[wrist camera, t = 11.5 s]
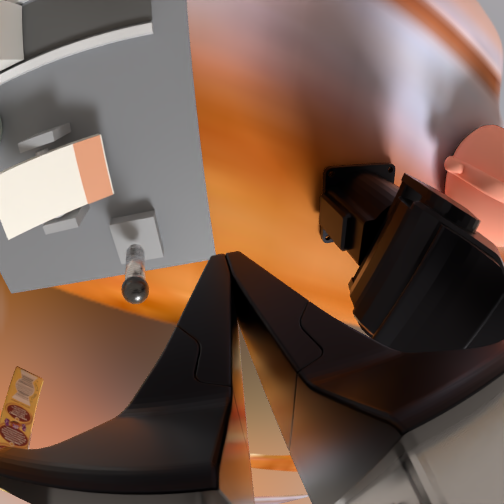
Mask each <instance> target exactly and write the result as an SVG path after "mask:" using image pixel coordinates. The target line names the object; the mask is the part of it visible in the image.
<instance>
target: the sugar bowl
mask: <svg viewBox="0 0 504 504" xmlns="http://www.w3.org/2000/svg"><path fill="white" fill-rule="evenodd" d="M444 166H445V170H447V171H448V172H447V176H446V182H445V195H447V196H448V197H450V198H451V199H453V200H454V201H456V202H458V203H459V204H461V205H462V206H464V207H465V208H467V209H468V210H469V211H470V212H471V213H472V214H473V215H475V216H476V217H477V218H478V219H479V220H480V221H481V222H480V224H479V226H478V228H477V230H476V231H477V232H479V233H480V234H482V235H483V236H484V237H486V238H487V239H488V240H490V241H491V242H492V243H494V244H495V245H496V246H504V128H502V127H499V126H497V125H485V126H482V127H480V128H478V129H476V130H475V131H473V132H472V133H471V134H469V135H468V136H467V137H466V138H465V139H464V140H463V141H462V142H461V143H460V145H459V146H458V148H457V149H456V151H455V153H454V155H453V156H449V157H447V159H446V160H445V162H444Z"/></svg>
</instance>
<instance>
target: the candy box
mask: <svg viewBox="0 0 504 504" xmlns="http://www.w3.org/2000/svg"><path fill="white" fill-rule="evenodd" d="M42 384H43V379H42V378H40V377H38V376H36V375H34V374H32V373H30V372H28V371H26V370H24V369H22V368H20V367H18V366H17V367H16V369H15V371H14V374H13V377H12V380H11V383H10V386H9V390H8V393H7V396H6V400H5V403H4V406H3V410H2V414H1V417H0V449H1V448H4V447H16V448H22V449H29V445H30V439H31V433H32V429H33V424H34V419H35V414H36V409H37V404H38V400H39V395H40V391H41V387H42ZM0 489H1V488H0ZM1 490H3V489H1ZM3 491H5V490H3ZM5 492H7V491H5ZM8 493H9V492H8Z"/></svg>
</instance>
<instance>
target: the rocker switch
mask: <svg viewBox="0 0 504 504" xmlns="http://www.w3.org/2000/svg"><path fill="white" fill-rule="evenodd" d="M35 155H36V156H35V157H32V158H30V159H28V160H25V161H23V162H21V163H19V164H16V165H14V166H12V167H10V168H8V169H6V170H3V171H1V172H0V220H1V223H2V226H3V228H4V231H5V233H6V236H7V238H8V240H10V239H11V238H13V237H15V236H18V235H20V234H22V233H24V232H26V231H28V230H30V229H32V228H34V227H36V226H38V225H40V224H43V223H45V222H47V221H49V220H51V219H54V218H58V217H61V216H63V215H64V214H65V213H67V212H70V211H72V210H74V209H77V208H79V207H81V206H84V205H86V204H90V203H93V202H95V201H98V200H100V199H103V198H105V197H108V196H110V195H113V194H114V191H113V187H112V183H111V178H110V174H109V170H108V165H107V161H106V156H105V151H104V146H103V141H102V136H101V134H95V135H91V136H88V137H85V138H82V139H80V140H77V141H74V142H71V143H68V144H66V145H63V146H60V147H57V148H55V149H52V150H50V151H48V148H45V149H42V150H40V151H38V152H36V153H35Z"/></svg>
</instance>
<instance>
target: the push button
mask: <svg viewBox="0 0 504 504" xmlns="http://www.w3.org/2000/svg"><path fill="white" fill-rule="evenodd" d="M1 139H2V122H1V118H0V142H1Z"/></svg>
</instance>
